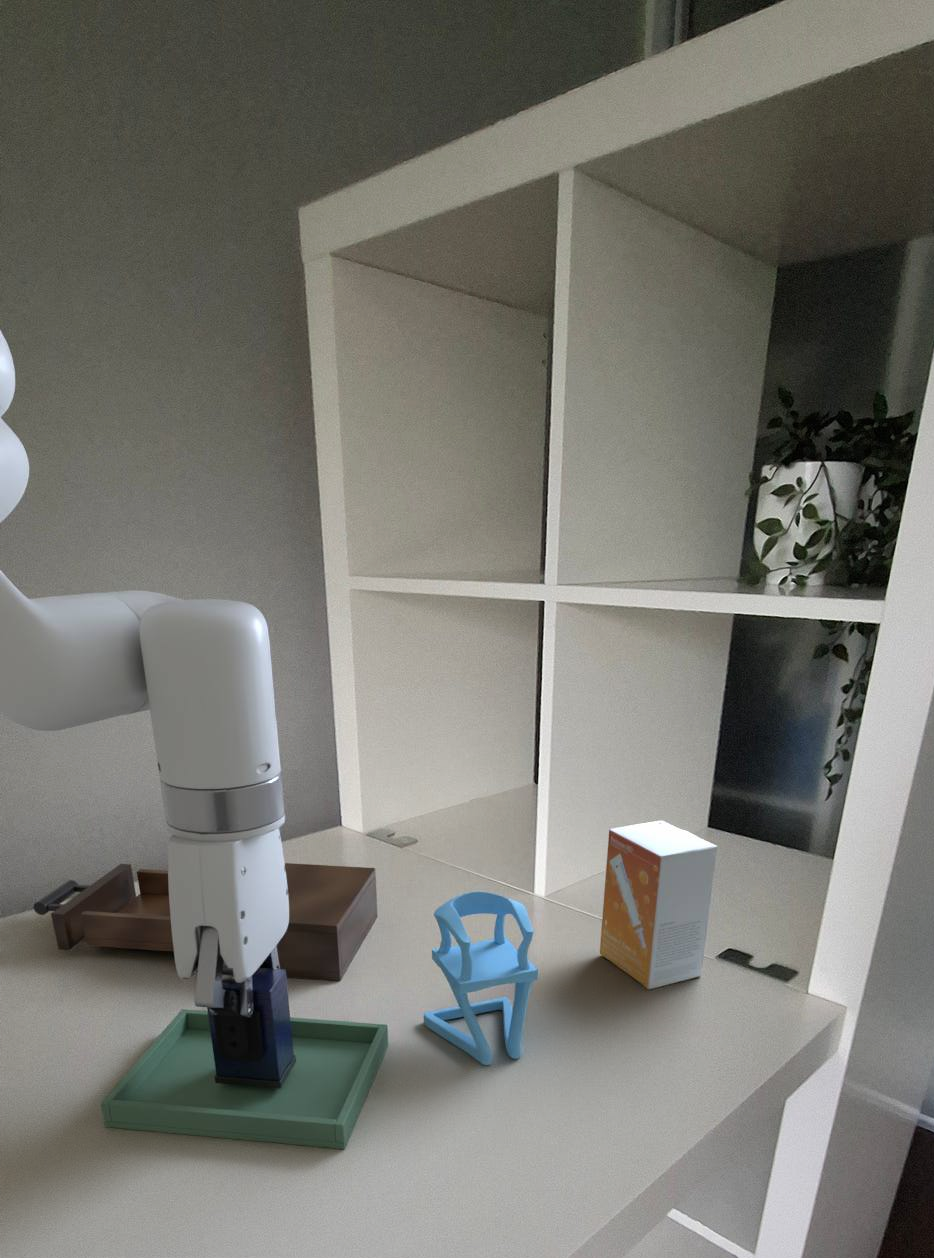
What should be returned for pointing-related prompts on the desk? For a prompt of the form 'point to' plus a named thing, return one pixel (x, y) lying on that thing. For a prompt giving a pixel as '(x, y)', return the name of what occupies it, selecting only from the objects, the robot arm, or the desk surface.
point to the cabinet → (326, 919)
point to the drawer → (113, 911)
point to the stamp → (275, 1034)
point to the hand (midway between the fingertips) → (252, 1041)
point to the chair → (482, 972)
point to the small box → (657, 902)
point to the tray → (295, 1114)
